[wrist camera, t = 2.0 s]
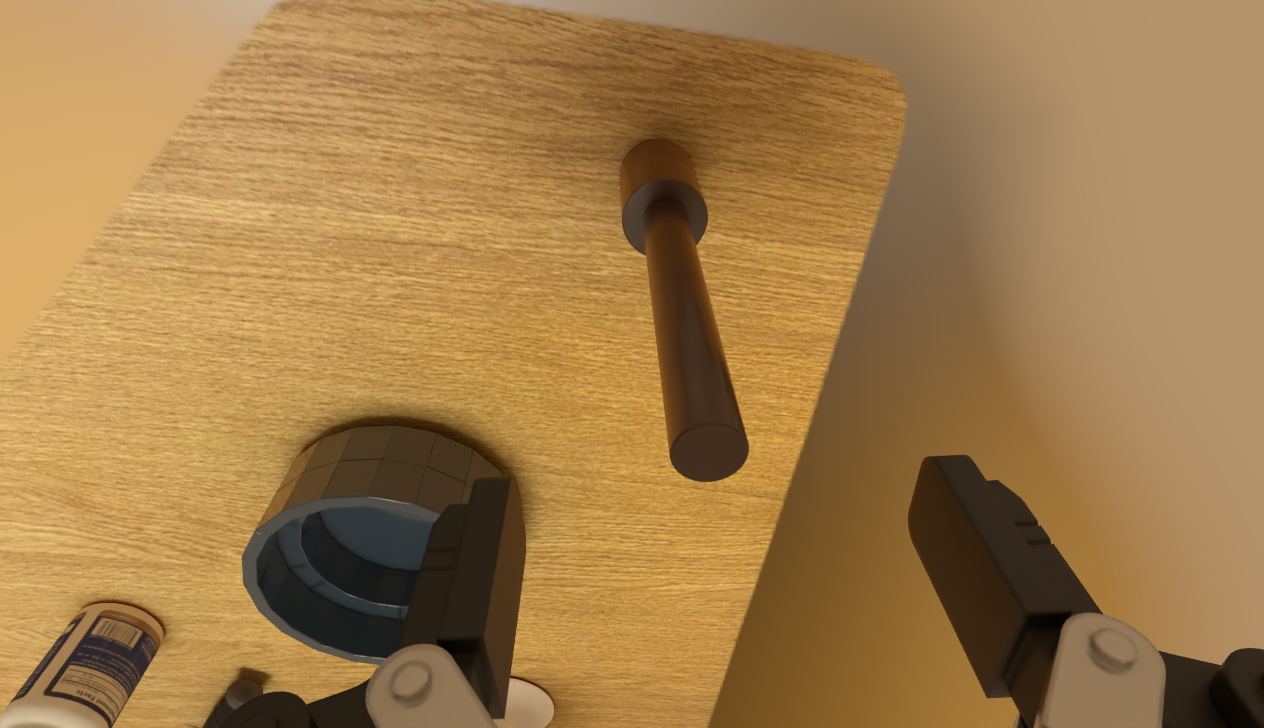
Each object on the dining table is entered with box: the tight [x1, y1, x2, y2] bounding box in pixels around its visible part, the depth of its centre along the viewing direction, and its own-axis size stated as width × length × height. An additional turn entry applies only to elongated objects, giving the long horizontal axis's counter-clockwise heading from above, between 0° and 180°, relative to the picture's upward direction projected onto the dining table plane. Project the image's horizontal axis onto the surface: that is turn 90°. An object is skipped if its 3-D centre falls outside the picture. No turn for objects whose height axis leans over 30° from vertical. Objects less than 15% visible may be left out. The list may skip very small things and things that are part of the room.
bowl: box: [242, 425, 503, 665], centre depth 37 cm, size 13×13×6 cm
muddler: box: [620, 139, 749, 482], centre depth 22 cm, size 3×3×18 cm
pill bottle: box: [0, 603, 164, 728], centre depth 41 cm, size 5×5×10 cm
